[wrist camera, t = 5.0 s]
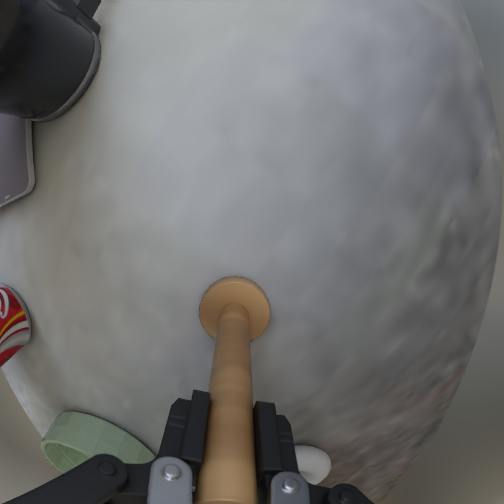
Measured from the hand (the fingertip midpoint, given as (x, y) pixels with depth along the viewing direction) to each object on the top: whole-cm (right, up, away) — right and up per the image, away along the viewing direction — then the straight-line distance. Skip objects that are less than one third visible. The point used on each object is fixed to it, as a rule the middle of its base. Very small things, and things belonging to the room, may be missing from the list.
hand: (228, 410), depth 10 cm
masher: (0, +3, +10) cm, 10 cm away
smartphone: (-22, +19, +6) cm, 29 cm away
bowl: (-18, -19, +15) cm, 31 cm away
